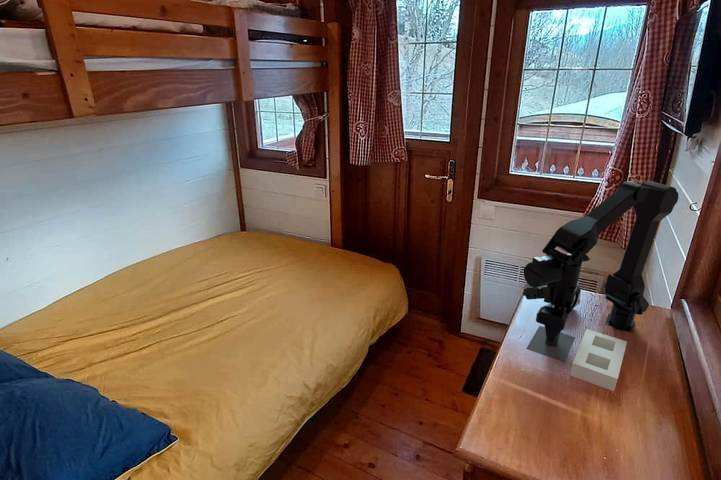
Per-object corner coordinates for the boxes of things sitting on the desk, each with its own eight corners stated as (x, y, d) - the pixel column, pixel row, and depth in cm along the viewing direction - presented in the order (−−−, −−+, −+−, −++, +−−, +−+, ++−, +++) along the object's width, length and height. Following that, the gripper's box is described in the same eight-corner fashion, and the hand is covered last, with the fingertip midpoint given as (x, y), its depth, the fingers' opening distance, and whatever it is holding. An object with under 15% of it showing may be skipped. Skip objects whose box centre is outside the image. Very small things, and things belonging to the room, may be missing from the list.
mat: (539, 327, 118) (539, 325, 117) (575, 339, 113) (575, 337, 113) (525, 350, 109) (526, 348, 108) (564, 364, 104) (564, 362, 104)
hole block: (583, 342, 112) (586, 329, 110) (623, 354, 107) (627, 341, 105) (569, 376, 100) (572, 363, 98) (613, 393, 95) (617, 379, 93)
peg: (546, 337, 112) (553, 304, 108) (559, 341, 111) (566, 308, 107) (543, 343, 110) (550, 310, 106) (556, 348, 109) (563, 314, 105)
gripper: (540, 255, 114) (531, 306, 121) (518, 284, 100) (509, 340, 107) (586, 266, 108) (574, 319, 115) (569, 299, 94) (557, 357, 101)
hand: (553, 332), depth 109 cm, fingers open, 8 cm apart
